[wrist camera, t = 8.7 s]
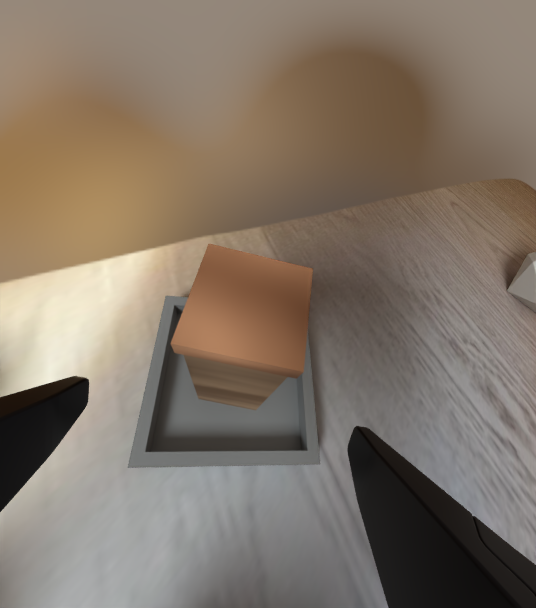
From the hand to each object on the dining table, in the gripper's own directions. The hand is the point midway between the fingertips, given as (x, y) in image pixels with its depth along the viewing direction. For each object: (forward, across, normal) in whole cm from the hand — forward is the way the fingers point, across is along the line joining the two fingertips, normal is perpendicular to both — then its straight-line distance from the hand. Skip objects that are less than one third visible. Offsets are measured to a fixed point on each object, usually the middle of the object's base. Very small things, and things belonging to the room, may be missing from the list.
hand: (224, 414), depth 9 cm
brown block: (+11, 0, +5) cm, 12 cm away
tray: (+12, 0, +6) cm, 13 cm away
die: (+23, -34, -6) cm, 42 cm away
